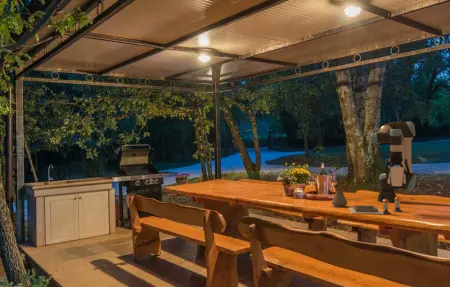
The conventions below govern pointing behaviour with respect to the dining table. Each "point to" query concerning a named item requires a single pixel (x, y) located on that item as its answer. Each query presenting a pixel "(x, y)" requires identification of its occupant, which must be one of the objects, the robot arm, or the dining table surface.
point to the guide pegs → (397, 209)
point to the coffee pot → (339, 198)
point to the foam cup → (396, 175)
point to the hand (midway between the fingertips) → (396, 183)
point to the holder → (365, 210)
